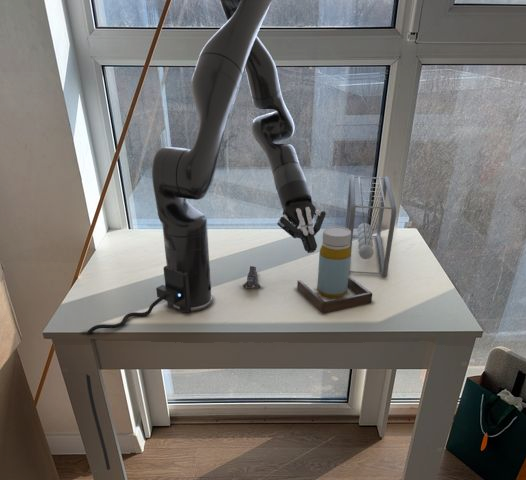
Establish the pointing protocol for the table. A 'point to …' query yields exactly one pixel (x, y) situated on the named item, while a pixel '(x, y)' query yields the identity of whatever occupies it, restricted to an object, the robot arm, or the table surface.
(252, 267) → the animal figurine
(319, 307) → the bay
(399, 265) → the table surface
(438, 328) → the table surface
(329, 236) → the bottle
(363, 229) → the newton's cradle
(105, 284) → the table surface
